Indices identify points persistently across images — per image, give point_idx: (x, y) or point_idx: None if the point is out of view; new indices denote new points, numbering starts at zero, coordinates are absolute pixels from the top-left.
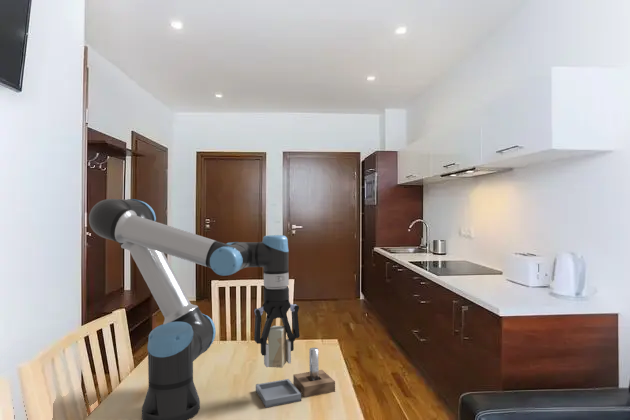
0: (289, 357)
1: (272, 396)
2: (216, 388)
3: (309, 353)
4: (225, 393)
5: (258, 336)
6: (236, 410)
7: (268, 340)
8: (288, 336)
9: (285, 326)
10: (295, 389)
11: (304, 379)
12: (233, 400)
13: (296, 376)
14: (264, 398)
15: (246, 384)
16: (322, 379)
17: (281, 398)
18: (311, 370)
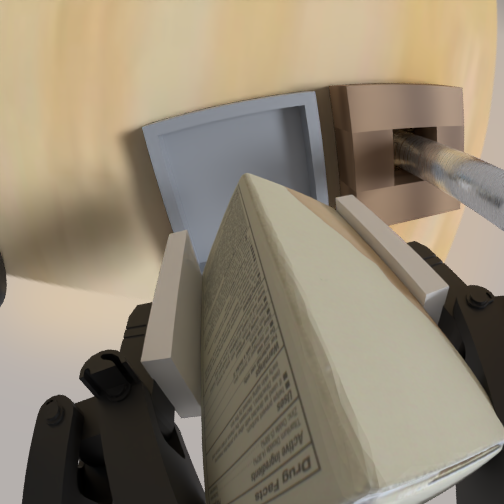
0: None
1: (219, 207)
2: (3, 96)
3: (482, 192)
4: (35, 139)
5: (103, 499)
6: (97, 271)
7: (205, 444)
8: (464, 328)
9: (465, 493)
10: None
11: (380, 158)
12: (71, 200)
13: (356, 114)
14: None
15: (107, 52)
16: None
17: None
18: (428, 179)
